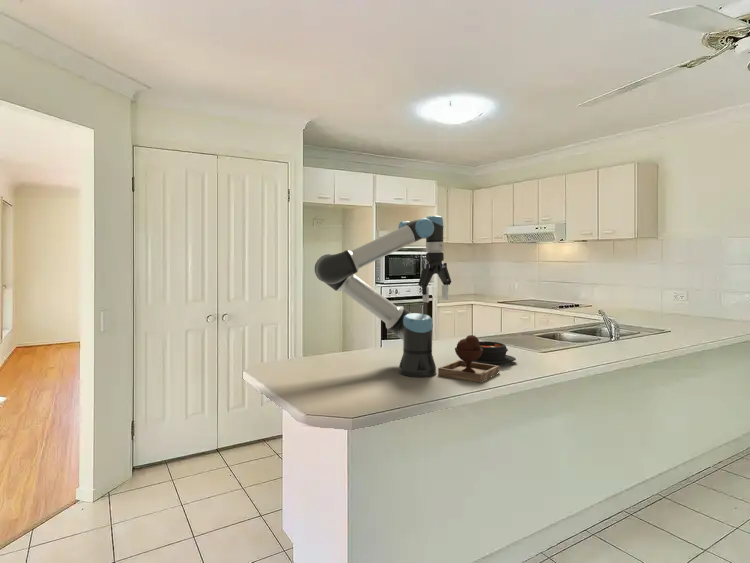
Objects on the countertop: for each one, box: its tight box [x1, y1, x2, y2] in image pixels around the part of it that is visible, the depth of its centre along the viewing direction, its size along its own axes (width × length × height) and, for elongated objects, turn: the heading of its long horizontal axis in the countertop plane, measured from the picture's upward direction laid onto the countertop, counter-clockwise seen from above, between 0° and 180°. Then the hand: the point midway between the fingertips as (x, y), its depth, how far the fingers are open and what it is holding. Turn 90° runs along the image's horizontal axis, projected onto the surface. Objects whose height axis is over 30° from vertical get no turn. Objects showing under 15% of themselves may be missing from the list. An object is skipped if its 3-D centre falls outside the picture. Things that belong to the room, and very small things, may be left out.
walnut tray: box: [437, 359, 500, 383], centre depth 189 cm, size 18×18×3 cm
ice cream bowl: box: [454, 334, 483, 373], centre depth 189 cm, size 11×11×15 cm
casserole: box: [473, 340, 516, 366], centre depth 210 cm, size 25×19×8 cm
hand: (435, 300), depth 206 cm, fingers open, 13 cm apart
